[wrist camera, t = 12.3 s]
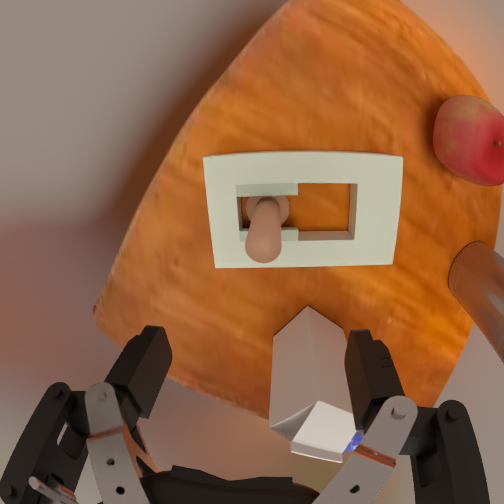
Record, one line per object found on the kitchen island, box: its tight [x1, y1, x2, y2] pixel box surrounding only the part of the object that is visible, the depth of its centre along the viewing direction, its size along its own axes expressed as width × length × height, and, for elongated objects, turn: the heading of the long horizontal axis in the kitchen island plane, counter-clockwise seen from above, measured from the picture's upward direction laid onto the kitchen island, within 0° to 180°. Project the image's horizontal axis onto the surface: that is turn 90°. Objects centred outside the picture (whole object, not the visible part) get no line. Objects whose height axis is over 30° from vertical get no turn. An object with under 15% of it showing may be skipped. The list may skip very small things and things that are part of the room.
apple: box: [433, 95, 504, 186], centre depth 19 cm, size 10×10×10 cm
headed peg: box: [245, 195, 290, 263], centre depth 24 cm, size 5×5×11 cm
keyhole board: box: [203, 150, 403, 268], centre depth 28 cm, size 20×12×3 cm, turn 94°
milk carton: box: [269, 306, 356, 463], centre depth 28 cm, size 7×7×19 cm
